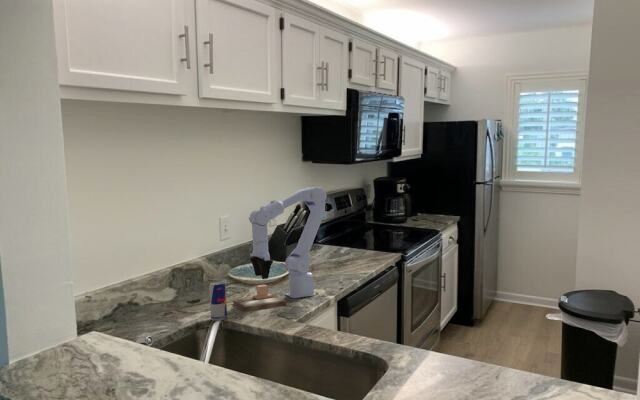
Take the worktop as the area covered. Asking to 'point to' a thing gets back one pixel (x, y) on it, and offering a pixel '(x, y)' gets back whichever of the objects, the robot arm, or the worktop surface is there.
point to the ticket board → (259, 303)
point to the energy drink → (218, 301)
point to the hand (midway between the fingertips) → (261, 277)
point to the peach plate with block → (262, 292)
